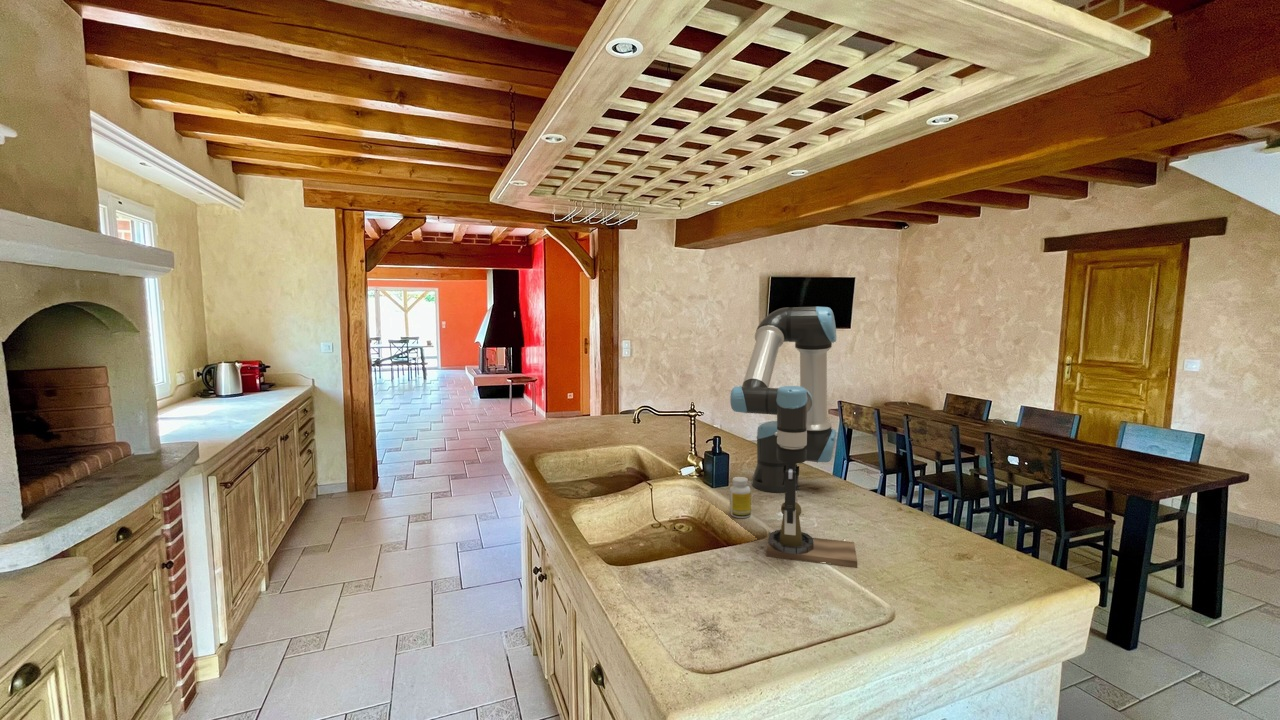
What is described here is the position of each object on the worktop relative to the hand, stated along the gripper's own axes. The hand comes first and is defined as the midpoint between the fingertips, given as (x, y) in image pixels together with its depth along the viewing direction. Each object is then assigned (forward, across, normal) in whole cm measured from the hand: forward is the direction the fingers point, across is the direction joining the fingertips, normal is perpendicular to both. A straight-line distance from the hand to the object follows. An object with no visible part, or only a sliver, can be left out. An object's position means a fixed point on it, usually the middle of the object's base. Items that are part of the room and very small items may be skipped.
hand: (791, 523), depth 138 cm
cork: (+6, 0, 0) cm, 6 cm away
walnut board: (+7, 0, +5) cm, 9 cm away
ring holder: (+6, 0, 0) cm, 6 cm away
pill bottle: (+7, -20, -16) cm, 27 cm away
